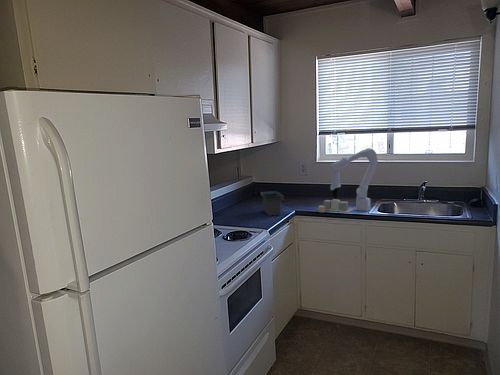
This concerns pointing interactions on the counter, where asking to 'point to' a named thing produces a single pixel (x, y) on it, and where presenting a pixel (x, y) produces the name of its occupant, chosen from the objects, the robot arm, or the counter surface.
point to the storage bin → (272, 202)
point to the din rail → (342, 206)
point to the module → (335, 204)
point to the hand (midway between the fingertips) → (335, 198)
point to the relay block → (321, 208)
